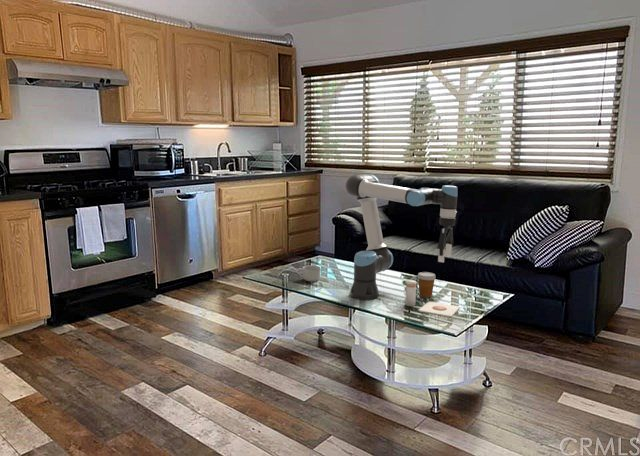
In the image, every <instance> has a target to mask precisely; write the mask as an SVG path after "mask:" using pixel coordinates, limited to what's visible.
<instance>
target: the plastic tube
mask: <svg viewBox="0 0 640 456" xmlns="http://www.w3.org/2000/svg"><path fill="white" fill-rule="evenodd" d="M416 296H417V281H416V280H415V279H414V280H413V279H407V280H405V305H406V306H408V307H413V306H416V301H417V300H416V299H417V297H416Z"/></svg>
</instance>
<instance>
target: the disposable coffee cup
mask: <svg viewBox="0 0 640 456" xmlns="http://www.w3.org/2000/svg"><path fill="white" fill-rule="evenodd" d="M436 278H437V277H436V274H435V273H433V272H429V271H422V272H418V274H417V279H418V290H419V291H418V292H419V296H420V297H421V298H431V297H432V296H433V291H434V290H433V289H434V285H435V280H436Z"/></svg>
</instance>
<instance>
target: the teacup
mask: <svg viewBox="0 0 640 456" xmlns="http://www.w3.org/2000/svg"><path fill="white" fill-rule="evenodd" d="M321 269H322V267H320V266H318V265H313V264H312V265H311V264H310V265H309V264H308V265H304V266H302V268H301V267H299V268H297V270H296V273H297V275H299V276H300V277H301V278H303V279H304V280H305V281H307V282H311V283H312V282H314V283H315V282H317V281H318V280H320V278H321ZM300 271H301V272H302V273H300Z"/></svg>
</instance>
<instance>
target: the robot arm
mask: <svg viewBox="0 0 640 456" xmlns="http://www.w3.org/2000/svg"><path fill="white" fill-rule="evenodd" d="M345 191H346V192H347V194H348V195H350V196H351V197H355V198H356V199H357V202H359V203H360V207H361V213H362V217H363V223H364V229H365V230H364V231H365V236H366V241H367V245H368V246H366V247H367V248H366V249H365V250H360V251H358V252H356V253H355V255H354V259H353V283H352V286H351V288H350V294H349V295H350V297H351V298H354V299H357V300H362V301H363V300H366V301H367V300H370V301H371V300H374V299H378V298H379V297H380V295H379V293H380V292H379V288H378V284H377V274H378V273H381V272H385V271H387V270H389V269H390V267H392V265H393V262H394V256H393V253H392V252H391V251H390V250H389V249H388V245H387V244H386V243H384V237H383V232H382V227H381V221H380V215H379V208H378V204H377V200H378V199H381V200H387V201H392V202H397V203H403V204H407V205H409V206H412V207H420V206H424V205H431V204H433V205H440V210H439V211H440V212H439V216H440V217H439V225H440V226H443V227H442V228H441V229H440V235H439V240H438V245H437V247H436V249H438V257H437V262H438V263H445V257H447V258H451V257H452V248H453V245H454V243H455V242H454V231H453V228H454V226H456V216H457V213H458V211H457V204H458V186H455V185H448V184H447V185H442V187H441V188H430V187H421V188H420V187H419V189H416V188H410V187H403V186H398V185H390V184H386V183H380V180H379V178H378V177H377V176H375V175H373V174H372V173H371V174H370V173H363V174H354V175H351V176H349V178H347V180H346V181H345Z"/></svg>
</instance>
